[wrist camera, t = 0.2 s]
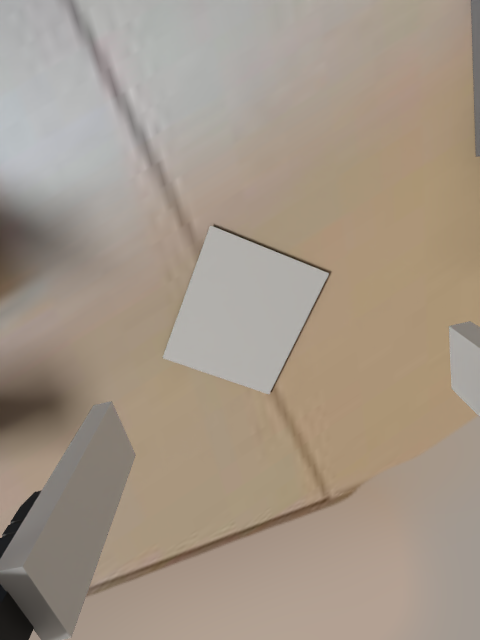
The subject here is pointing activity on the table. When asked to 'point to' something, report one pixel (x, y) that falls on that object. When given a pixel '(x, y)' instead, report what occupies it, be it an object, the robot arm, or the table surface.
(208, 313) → the paper stack
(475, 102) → the trap box
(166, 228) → the table surface
